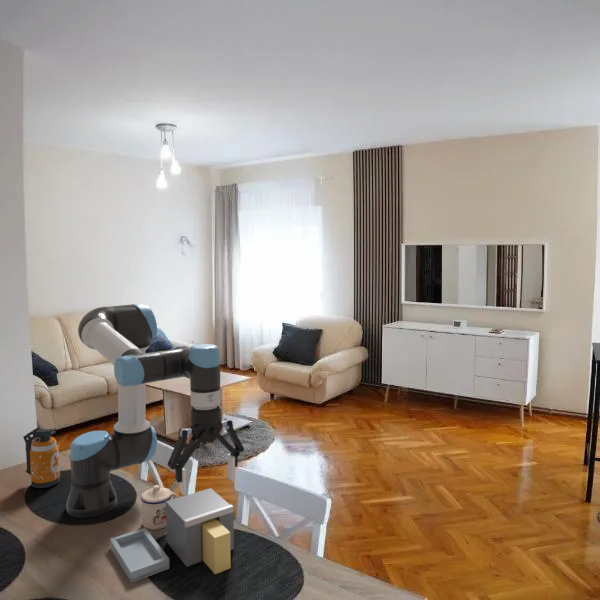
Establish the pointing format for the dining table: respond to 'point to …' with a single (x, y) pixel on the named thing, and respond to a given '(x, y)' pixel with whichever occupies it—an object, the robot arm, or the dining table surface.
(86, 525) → the dining table surface
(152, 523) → the teacup with lid
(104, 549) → the dining table surface
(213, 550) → the yellow cuboid
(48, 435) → the canister
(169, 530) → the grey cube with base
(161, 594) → the dining table surface
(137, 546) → the tray
